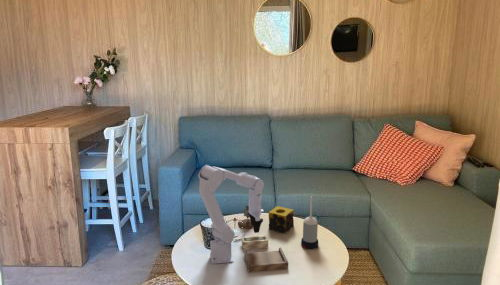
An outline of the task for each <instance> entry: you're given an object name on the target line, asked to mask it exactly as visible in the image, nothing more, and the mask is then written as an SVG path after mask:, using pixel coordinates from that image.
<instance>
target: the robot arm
mask: <svg viewBox="0 0 500 285" xmlns="http://www.w3.org/2000/svg"><path fill="white" fill-rule="evenodd" d="M197 176H198V179H199V185H198V186H199V187H198V189H199V190H198V191H199V195H200V197H201V200H202V202H203V204H204V206H205V209H206V211H207V214H208V217H209V219H210V221H211V225H210V227H211V234H212V236H214V239H213V240H210V243H209V244H210V254H209V255H210V260H211V264H213V265H215V264H225V263H233V262H234V258H233V253H232V242H233V240H234V239H235V231H234V229H232V228H231V226H230V225H229V224H228V223H227V222H226V220H225V218H224V214H223V212H222V210H221V208H220V206H219V204H218V200H217V199H216V195H215V191H216V190H217V189H218V188H219V186H220V185H221V184H222V182H225V181H226V179H227V180H231V181H235V183H236V184H237V185H238V186H241V187H245V188H248V203H249V205H248V206H249V210H248V211H247V212H248V214H249V216H250V217H249V219H250V221H251V225H252V226H253V228H252V229H253V233H255V234H256V233H260V229H261V226H262V223H263V221H264V219H263V218H262V217H261V215H262V213H264V212H265V211H264V209H263V208H262V194H263V190H264V186H265V183H264V181H263V180H262V178H259V177H257V176H256V175H254V174H252V175H251V174H248V172H247V171H246V172H245V171H244V172H239V173H236V172H233V171H231V170H228V169H225V168H222V167H219V166H211V165H209V164H205V165H204V166H202V167H201V169H200V171H199V173H198V175H197Z"/></svg>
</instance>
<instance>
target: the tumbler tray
mask: <svg viewBox="0 0 500 285" xmlns="http://www.w3.org/2000/svg"><path fill="white" fill-rule="evenodd" d="M241 247H242V250H248V249H249V250H251V249H252V250H253V248H255V249H266V247H268V248H269V239H268V236H267V235H266V234H265V235H255V236H254V235H253V236H242V237H241Z"/></svg>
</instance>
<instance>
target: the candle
mask: <svg viewBox="0 0 500 285" xmlns="http://www.w3.org/2000/svg"><path fill="white" fill-rule="evenodd" d="M294 211H295V209H292V208H288V207H284V206H278V205H277V206H275V207H274V208H273V209H271V210H270V211H269V212H268V230H270V231H273V232H276V233H280V234H283V235H284V234H287V233H288V232H290V231H291V229H292V228H294V227H295V225H294V223H295V222H294V221H295V220H294V213H295V212H294Z"/></svg>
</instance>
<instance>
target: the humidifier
mask: <svg viewBox="0 0 500 285" xmlns="http://www.w3.org/2000/svg"><path fill="white" fill-rule="evenodd" d="M309 203H310V206H309V207H310V208H309V216H307V217H306V218H304V220H303V223H302V237H301V242H300V243H301V244H300V246H301V247H302V248H303V249H305V250H316V249H317V248H319V239H318V226H319V224H318V220H317V219H316V218H315V217H314V216H313V196H312V195H311V196H310V201H309Z"/></svg>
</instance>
